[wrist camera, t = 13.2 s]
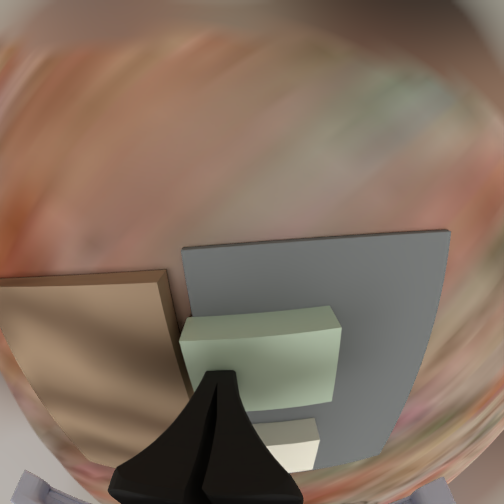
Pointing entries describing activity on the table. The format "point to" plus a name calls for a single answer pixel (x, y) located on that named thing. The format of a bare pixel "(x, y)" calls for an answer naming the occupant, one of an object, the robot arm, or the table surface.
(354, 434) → the mat
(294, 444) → the tile cream
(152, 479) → the robot arm
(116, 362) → the board
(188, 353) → the tile sage
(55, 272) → the table surface
